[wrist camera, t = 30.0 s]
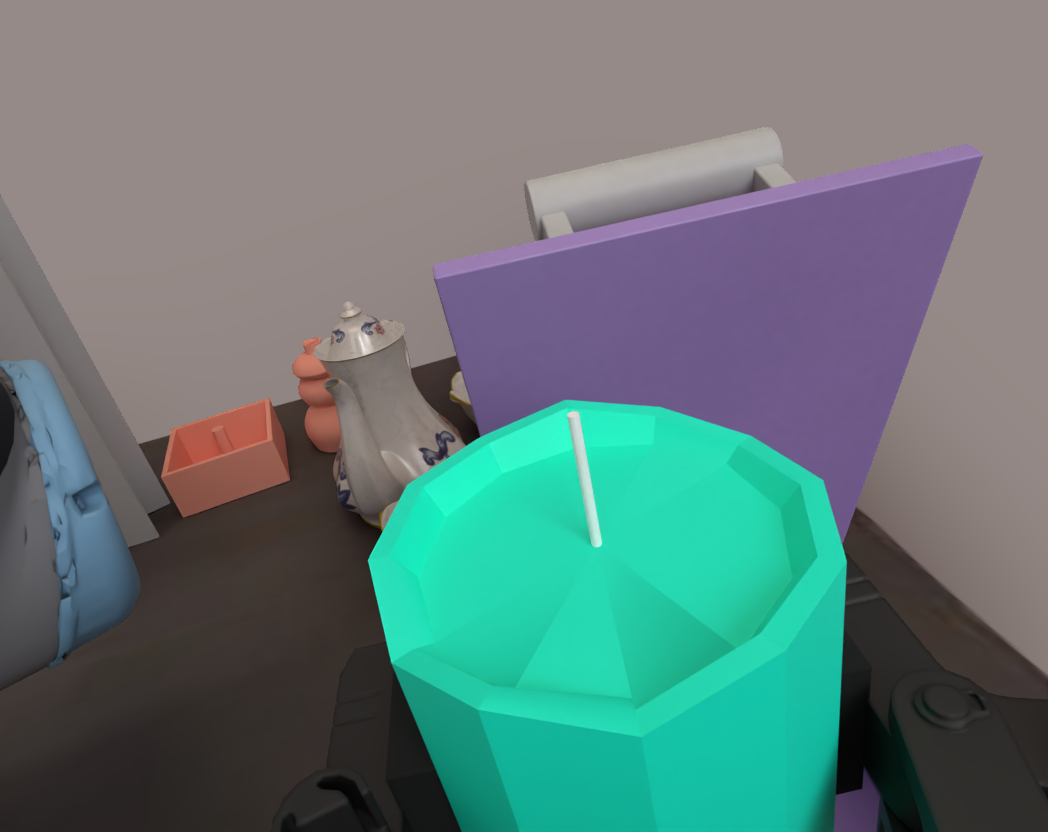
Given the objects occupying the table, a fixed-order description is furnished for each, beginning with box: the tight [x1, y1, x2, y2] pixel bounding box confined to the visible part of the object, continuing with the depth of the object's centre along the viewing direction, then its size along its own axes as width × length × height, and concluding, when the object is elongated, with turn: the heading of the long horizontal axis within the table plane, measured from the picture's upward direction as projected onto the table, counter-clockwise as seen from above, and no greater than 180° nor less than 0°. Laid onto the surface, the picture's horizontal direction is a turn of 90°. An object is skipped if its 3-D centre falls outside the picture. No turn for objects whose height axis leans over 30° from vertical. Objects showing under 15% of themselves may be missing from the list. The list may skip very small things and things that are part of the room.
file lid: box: [433, 127, 983, 544], centre depth 23 cm, size 17×13×5 cm
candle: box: [368, 400, 847, 832], centre depth 11 cm, size 6×6×12 cm
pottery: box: [161, 338, 341, 518], centre depth 61 cm, size 18×10×10 cm, turn 111°
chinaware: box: [313, 302, 476, 532], centre depth 49 cm, size 28×17×17 cm, turn 177°
